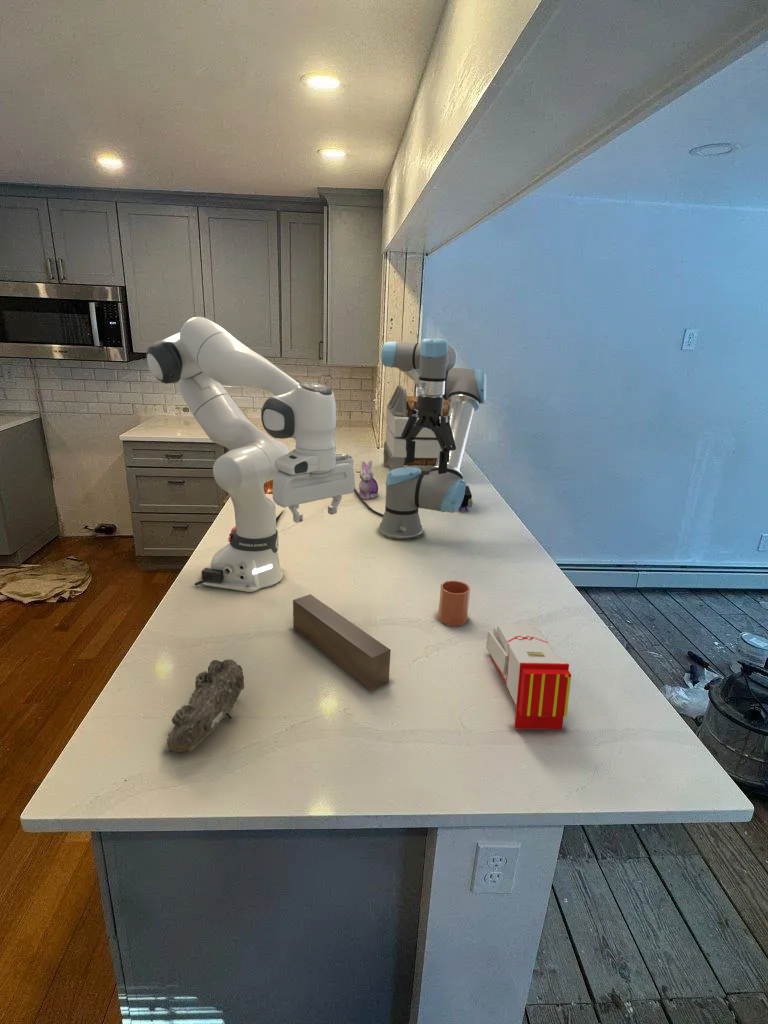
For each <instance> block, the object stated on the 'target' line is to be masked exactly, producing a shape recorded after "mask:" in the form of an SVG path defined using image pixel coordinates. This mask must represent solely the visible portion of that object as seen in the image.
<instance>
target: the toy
mask: <svg viewBox="0 0 768 1024" xmlns="http://www.w3.org/2000/svg"><path fill="white" fill-rule="evenodd" d="M486 636H487V637H486V638H487V639H486V644H485V645H486V646H485V649H486V650H487V652H488V653H489V656H490V658H491V660H492V661H493V663H494V665H495V667H496V669H497V670H498V672H499V674H500V676H501V678H502V679H503V681H504V683H505V684H506V687H507V689H508V691H509V694H510V696H511V698H512V700H513V702H514V704H515V715H514V730H563V723H564V717H565V718H566V717H567V716H568V709H569V699H570V692H571V691H570V690H571V682H572V681H571V680H572V673H571V671H569V670H570V669H569V668H570V664H569V663H564V662H563V661H562V659H561V658H560V657H559V655H558V654H557V652H556V651H555V650H554V648H553V647H552V646H551V644H550V643H549V641H548V640H547V638H546V637H545V636H544V634H543V633H542V631H541V630H540V629H539V628H538V626H537V625H536V624H498V623H497V625H496V626H493V631H492V630H488V631H487V635H486Z"/></svg>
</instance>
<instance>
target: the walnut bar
mask: <svg viewBox="0 0 768 1024" xmlns="http://www.w3.org/2000/svg"><path fill="white" fill-rule="evenodd" d="M292 623H293V630H294V631H295V632H297V633H298V634H299V635H301V636H302V637H303V638H304V639H306V640H307V641H308V642H309V643H311V644H312V645H313V646H314V647H315V648H317V649H318V650H319V651H320V652H321V653H323V654H324V655H325V656H327V657H328V658H329V659H330V660H331V661H333V662H334V663H335V664H337V665H338V666H339V667H340V668H342V669H343V670H344V671H345V672H346V673H348V674H349V675H350V676H352V677H353V678H354V679H355V680H356V681H358V682H359V683H360V684H362V685H363V686H364V687H365V688H367V689H368V690H369V691H373V690H376V689H377V688H379V687H382V686H383V685H385V684H387V683H389V682H390V672H391V671H390V669H391V668H390V667H391V651H392V650H391V648H389V647H387V645H385V644H383V643H382V642H381V641H379V640H377V639H376V638H374V637H373V636H372V635H370V634H369V633H367V632H366V631H364V630H363V629H361V628H360V627H358V626H357V625H356V624H354V623H353V622H351V621H350V620H349V619H347V618H346V617H344V616H343V615H342V614H340V613H338V612H337V611H335V609H332V608H331V607H330V606H328V605H327V604H326V603H324V602H323V601H322V600H320V599H318V598H317V597H315V596H314V595H312V594H311V593H310V594H306V595H304V596H301V597H297V598H295V599H292Z"/></svg>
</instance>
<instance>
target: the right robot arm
mask: <svg viewBox="0 0 768 1024" xmlns="http://www.w3.org/2000/svg"><path fill="white" fill-rule="evenodd" d="M380 352H381V353H380V359H381V363H382V365H383V366H384V367H387V368H391V369H392V368H395V369H398V370H399V371H401V372H402V373H403V374H404V375H406V376H407V377H408V378H409V379H410V380H412V381H413V383H414V385H415V386H416V388H417V393H418V394H419V395H418V398H417V408H418V409H411V410H410V416H409V419H408V421H407V423H406V426H405V428H404V430H403V432H402V435H401V437H402V438H404V439H405V441H406V451H407V455H406V463H413V462H414V457H415V442H416V441H412V440H414V438H415V437H416V436H417V435H418V433H419V432H420V431H421V430H422V428H428V429H431V430H432V431H433V432H434V434H435V436H436V438H437V440H438V442H439V444H440V449H439V453H438V458H437V462H436V466H431V467H430V469H429V472H428V474H425V473H422V469H421V468H419V467H417V466H404V467H402V468H397V469H393V470H391V471H390V470H389V472H388V473H387V475H386V482H385V504H384V505H385V507H384V508H385V509H384V513H381V512H378V511H376V510H375V509H374V508H372V507H370V506H369V504H368V503H367V502H365V500H364V499H363V498H361V497H360V496H359V492H358V491H357V489H356V488H355V489H354V491H353V492H354V493H355V494H356V496H357V497H358V499H359V500H360V501H361V502H362V504H364V505H365V507H366V508H367V509H368V510H369V511H371V512H372V513H374V514H376V515H379V516H381V517H382V519H381V522H379V526H378V533H379V534H380V535H381V536H382V537H385V538H387V539H389V540H395V541H410V540H415V539H418V538H420V537H421V536H422V535H423V525H422V524H421V518H420V515H419V509H424V510H430V511H435V512H441V513H450V514H453V513H456V512H457V511H459V507H460V506H461V503H462V501H463V498H464V495H465V490H466V486H467V482H466V480H465V479H464V475H463V473H462V471H461V472H460V469H461V470H462V465H463V459H464V455H465V451H466V447H467V441H468V437H469V433H470V429H471V424H472V420H473V416H474V413H475V412H476V411H478V410H479V409H480V405H483V404H485V403H486V400H487V391H488V390H487V386H488V385H487V374H486V372H485V371H484V370H482V369H476V368H464V367H454V366H456V364H457V362H458V359H459V358H458V356H459V355H458V352H457V349H455V347H454V346H453V345H451V344H449V342H448V340H447V339H445V338H433V337H431V338H430V337H429V338H426V337H425V338H423V339H422V340H421V342H407V341H406V342H405V341H397V340H395V341H394V340H393V341H385V342H384V344H383V345H382V347H381V351H380ZM444 400H447V403H448V405H449V406H450V408H449V412H448V416H441V411H442V409H443V404H444ZM418 418H419V419H418ZM417 419H418V421H417ZM416 421H417V422H416ZM414 425H415V426H414Z"/></svg>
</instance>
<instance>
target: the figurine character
mask: <svg viewBox="0 0 768 1024" xmlns="http://www.w3.org/2000/svg"><path fill="white" fill-rule="evenodd" d="M472 497H473V495H472V492H471V489H470V486H469V485H466V490H465V495H464V498H463V501H462V503H461V506H460V507H459V509H458V511H459V512H461V511H462V510H461V509H465V511H466V512H468V511H469V510H468V508H472V507H473V498H472Z"/></svg>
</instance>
